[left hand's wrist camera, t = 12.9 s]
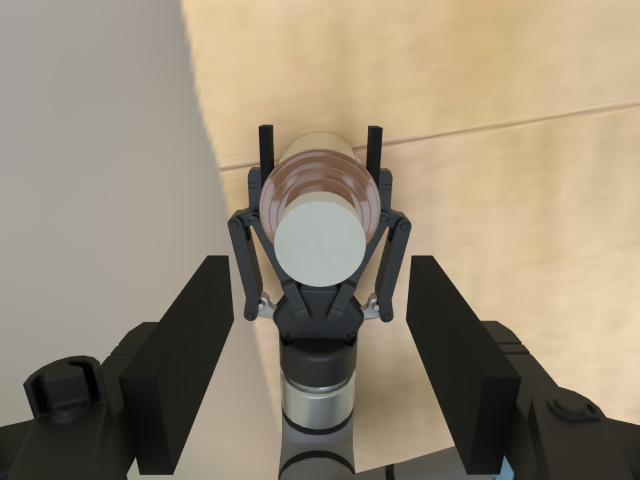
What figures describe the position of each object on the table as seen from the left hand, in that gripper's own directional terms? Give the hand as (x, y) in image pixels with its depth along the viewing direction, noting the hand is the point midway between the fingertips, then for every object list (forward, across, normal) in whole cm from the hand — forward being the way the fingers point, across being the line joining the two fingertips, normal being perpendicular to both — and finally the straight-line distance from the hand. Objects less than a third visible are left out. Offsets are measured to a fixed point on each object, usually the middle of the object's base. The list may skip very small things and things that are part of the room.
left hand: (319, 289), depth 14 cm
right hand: (+18, 0, -5) cm, 19 cm away
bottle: (+25, 0, 0) cm, 25 cm away
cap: (+5, 0, 0) cm, 5 cm away
